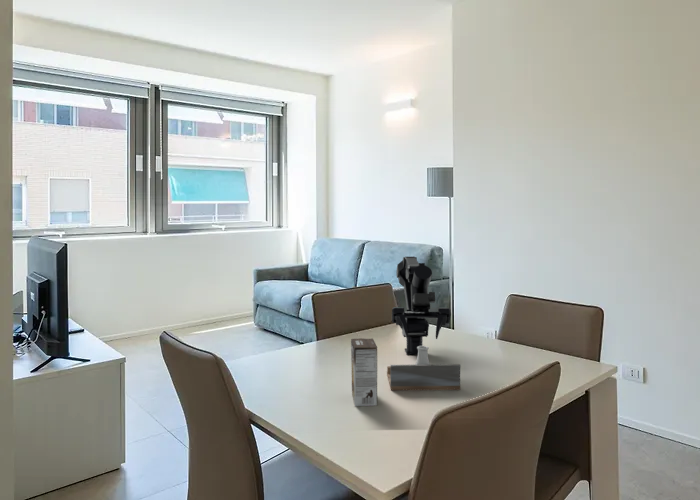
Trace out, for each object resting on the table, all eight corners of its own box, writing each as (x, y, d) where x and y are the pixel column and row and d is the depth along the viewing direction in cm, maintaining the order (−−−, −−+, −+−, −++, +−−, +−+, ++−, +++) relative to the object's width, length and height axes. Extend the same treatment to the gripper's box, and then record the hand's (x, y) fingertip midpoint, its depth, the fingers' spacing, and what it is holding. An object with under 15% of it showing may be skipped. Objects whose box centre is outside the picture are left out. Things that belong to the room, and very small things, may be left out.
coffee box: (350, 394, 148) (350, 338, 146) (373, 393, 148) (373, 337, 147) (353, 406, 139) (353, 347, 137) (377, 405, 139) (377, 346, 138)
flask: (423, 385, 151) (424, 351, 150) (405, 379, 156) (405, 346, 155) (439, 380, 155) (440, 347, 155) (421, 374, 161) (421, 342, 160)
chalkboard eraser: (386, 374, 164) (386, 352, 164) (450, 373, 165) (450, 351, 164) (390, 390, 151) (390, 366, 150) (460, 389, 151) (460, 365, 150)
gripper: (391, 282, 169) (392, 324, 159) (450, 283, 167) (454, 325, 157) (391, 302, 177) (392, 342, 167) (447, 302, 176) (451, 343, 166)
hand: (421, 338), depth 164 cm, fingers open, 9 cm apart
